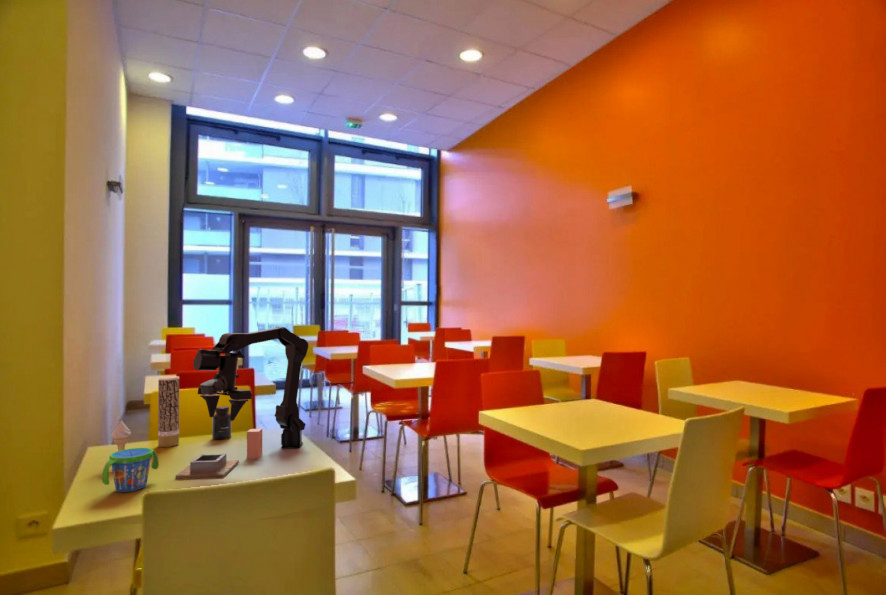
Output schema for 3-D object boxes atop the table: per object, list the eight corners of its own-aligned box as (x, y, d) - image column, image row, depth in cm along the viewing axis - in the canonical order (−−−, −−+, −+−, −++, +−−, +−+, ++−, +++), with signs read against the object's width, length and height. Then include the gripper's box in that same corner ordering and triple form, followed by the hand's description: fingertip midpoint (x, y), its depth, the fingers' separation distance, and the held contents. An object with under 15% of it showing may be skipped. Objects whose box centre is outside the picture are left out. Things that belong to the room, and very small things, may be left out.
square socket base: (239, 463, 167) (239, 450, 167) (223, 477, 153) (223, 464, 153) (194, 464, 166) (194, 451, 166) (175, 478, 152) (175, 465, 152)
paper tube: (182, 444, 189) (183, 377, 190) (164, 448, 183) (164, 379, 184) (172, 441, 193) (172, 375, 193) (154, 446, 187) (154, 378, 187)
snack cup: (147, 477, 153) (147, 443, 154) (169, 482, 148) (169, 447, 148) (91, 494, 140) (91, 457, 140) (113, 501, 135) (113, 462, 135)
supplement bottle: (224, 440, 194) (224, 409, 194) (208, 439, 196) (208, 408, 196) (235, 436, 201) (235, 405, 201) (219, 435, 202) (219, 405, 202)
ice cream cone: (109, 469, 160) (110, 422, 160) (111, 465, 165) (112, 418, 165) (130, 467, 163) (130, 420, 163) (132, 462, 168) (132, 416, 168)
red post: (262, 454, 176) (262, 428, 176) (259, 458, 172) (259, 431, 172) (250, 455, 176) (250, 428, 176) (246, 458, 172) (246, 431, 172)
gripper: (186, 368, 165) (180, 417, 164) (229, 373, 158) (223, 425, 156) (214, 368, 175) (208, 414, 174) (255, 373, 168) (250, 421, 166)
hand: (221, 418), depth 167 cm, fingers open, 9 cm apart
